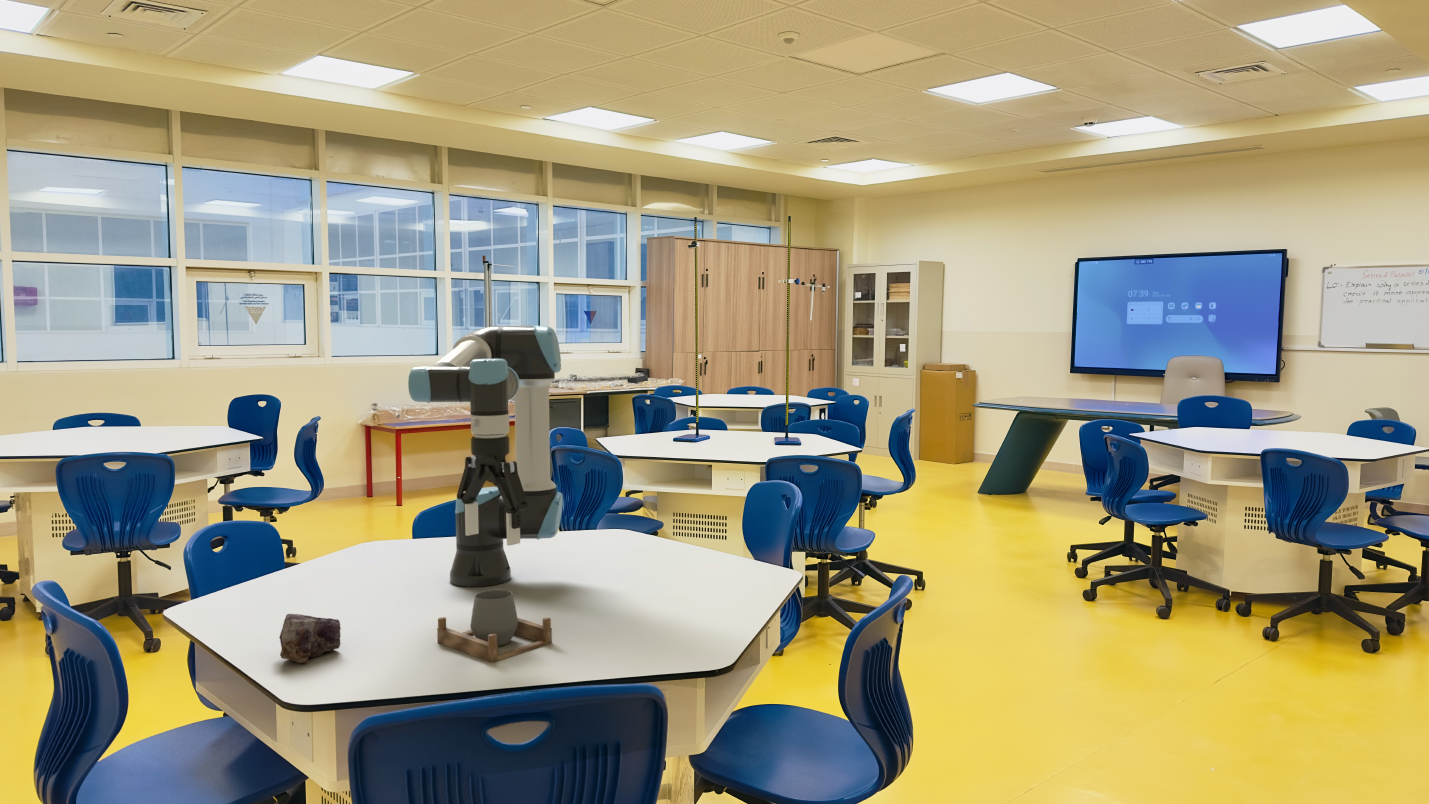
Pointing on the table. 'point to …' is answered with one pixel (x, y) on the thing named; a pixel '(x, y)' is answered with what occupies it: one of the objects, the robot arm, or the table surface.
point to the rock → (308, 637)
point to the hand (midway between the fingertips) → (492, 539)
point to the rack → (494, 639)
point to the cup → (494, 615)
